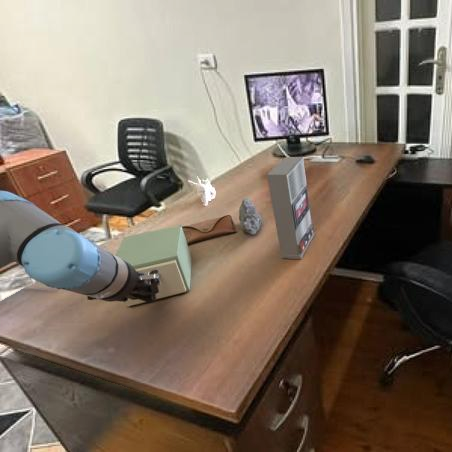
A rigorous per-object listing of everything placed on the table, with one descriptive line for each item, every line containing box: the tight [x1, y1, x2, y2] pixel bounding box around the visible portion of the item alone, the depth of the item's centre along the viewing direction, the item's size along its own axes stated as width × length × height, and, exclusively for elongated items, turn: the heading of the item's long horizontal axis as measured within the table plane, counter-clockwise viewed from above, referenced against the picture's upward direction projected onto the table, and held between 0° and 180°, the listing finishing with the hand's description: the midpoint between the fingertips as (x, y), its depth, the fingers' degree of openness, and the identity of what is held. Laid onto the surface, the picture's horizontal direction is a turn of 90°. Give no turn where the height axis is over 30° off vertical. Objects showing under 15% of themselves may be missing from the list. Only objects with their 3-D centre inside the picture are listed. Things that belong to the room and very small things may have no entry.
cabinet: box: [115, 224, 193, 308], centre depth 91 cm, size 17×15×11 cm
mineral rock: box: [238, 197, 262, 236], centre depth 113 cm, size 13×11×10 cm
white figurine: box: [187, 175, 217, 207], centre depth 137 cm, size 12×8×10 cm, turn 169°
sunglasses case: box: [181, 214, 237, 246], centre depth 113 cm, size 18×7×7 cm, turn 116°
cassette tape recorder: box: [266, 156, 316, 260], centre depth 97 cm, size 14×6×25 cm, turn 167°
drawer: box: [124, 260, 187, 307], centre depth 88 cm, size 20×14×9 cm
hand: (152, 296), depth 82 cm, fingers closed
